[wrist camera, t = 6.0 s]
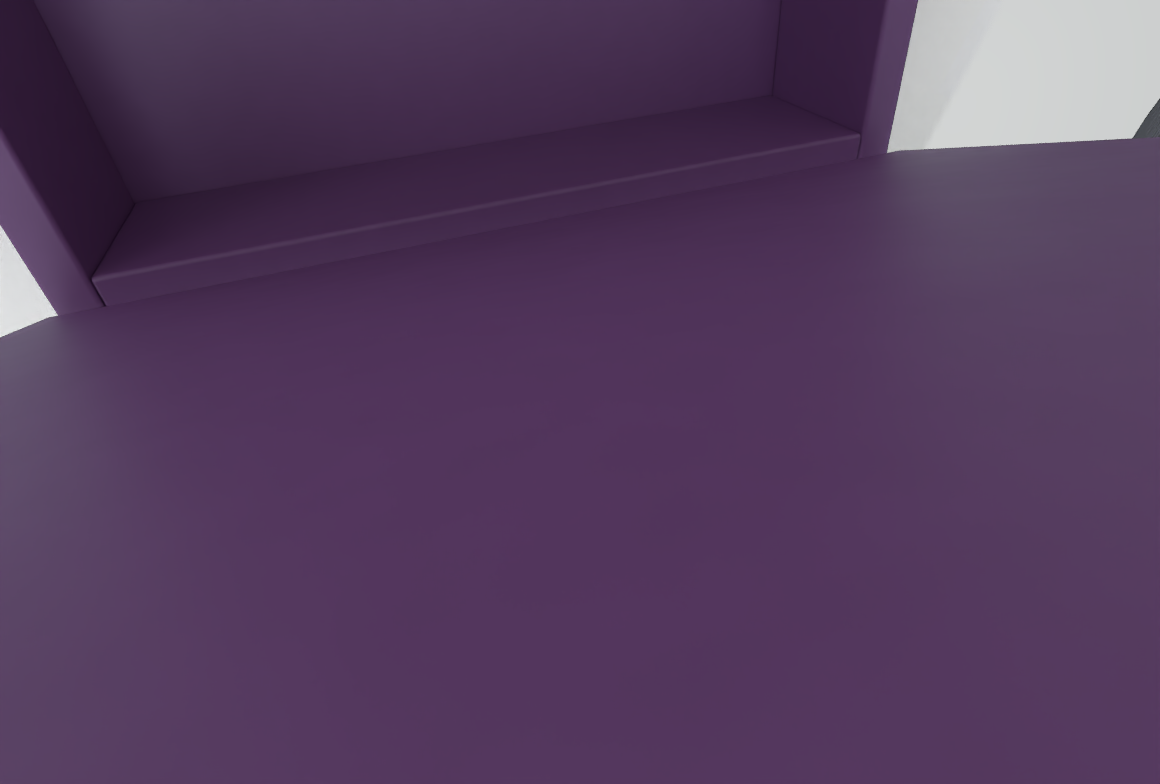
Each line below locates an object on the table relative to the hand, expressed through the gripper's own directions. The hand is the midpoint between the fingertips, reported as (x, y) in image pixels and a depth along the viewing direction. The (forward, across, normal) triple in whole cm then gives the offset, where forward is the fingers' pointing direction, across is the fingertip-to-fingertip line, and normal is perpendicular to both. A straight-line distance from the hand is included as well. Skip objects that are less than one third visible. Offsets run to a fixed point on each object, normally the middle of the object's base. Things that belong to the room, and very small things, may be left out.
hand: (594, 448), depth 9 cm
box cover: (-3, 0, -4) cm, 5 cm away
